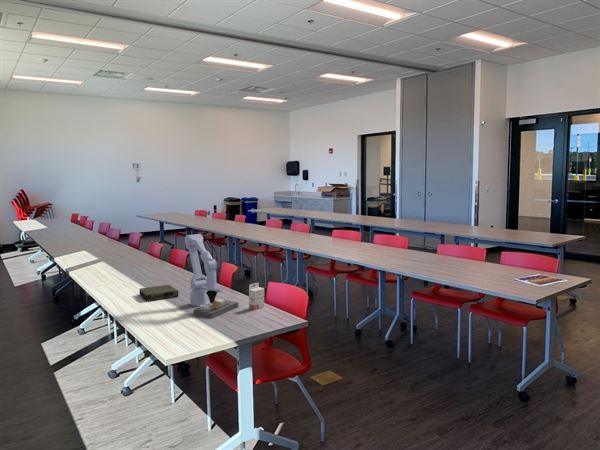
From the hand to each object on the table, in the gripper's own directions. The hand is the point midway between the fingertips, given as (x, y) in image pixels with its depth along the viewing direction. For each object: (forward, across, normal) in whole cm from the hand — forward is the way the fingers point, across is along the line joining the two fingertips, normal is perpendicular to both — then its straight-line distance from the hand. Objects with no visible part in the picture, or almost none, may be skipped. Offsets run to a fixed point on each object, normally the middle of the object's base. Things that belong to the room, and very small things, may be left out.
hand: (212, 302), depth 267 cm
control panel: (+4, +3, 0) cm, 5 cm away
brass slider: (+1, +7, -5) cm, 9 cm away
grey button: (+2, 0, -7) cm, 7 cm away
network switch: (+5, -55, +9) cm, 56 cm away
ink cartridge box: (+5, +21, +16) cm, 27 cm away
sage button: (+3, 0, 0) cm, 3 cm away
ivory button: (+2, 0, +7) cm, 7 cm away
